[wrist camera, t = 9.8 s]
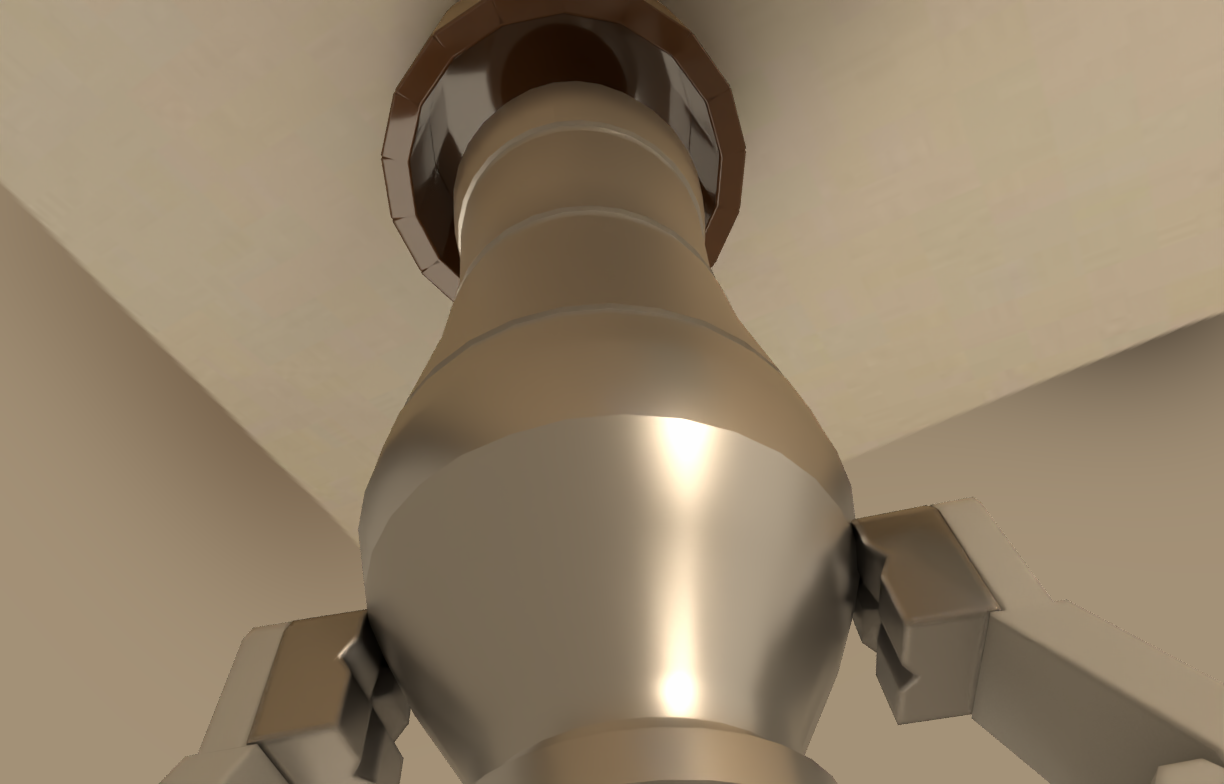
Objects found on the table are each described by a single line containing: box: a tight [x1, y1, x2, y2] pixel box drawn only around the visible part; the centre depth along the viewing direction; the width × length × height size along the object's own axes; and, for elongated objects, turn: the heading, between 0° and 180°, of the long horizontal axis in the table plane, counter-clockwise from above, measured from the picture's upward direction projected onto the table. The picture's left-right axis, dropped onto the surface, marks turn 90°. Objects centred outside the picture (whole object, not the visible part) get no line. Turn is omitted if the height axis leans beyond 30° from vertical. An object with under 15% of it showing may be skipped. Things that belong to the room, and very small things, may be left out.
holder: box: [381, 0, 746, 302], centre depth 25 cm, size 11×11×6 cm
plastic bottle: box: [358, 81, 860, 784], centre depth 14 cm, size 6×7×20 cm
